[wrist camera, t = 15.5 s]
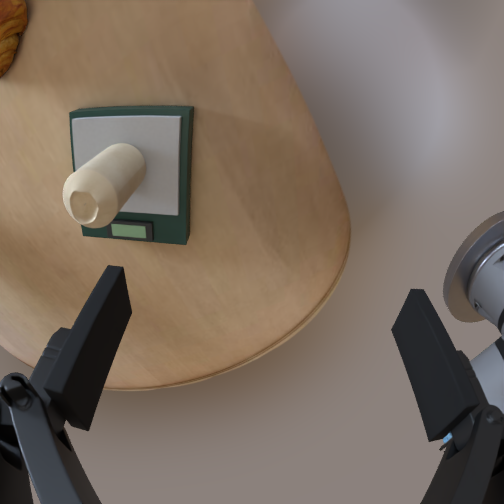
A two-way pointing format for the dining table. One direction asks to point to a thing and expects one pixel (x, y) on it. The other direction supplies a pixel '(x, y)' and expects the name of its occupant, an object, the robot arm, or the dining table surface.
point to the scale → (157, 167)
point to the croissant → (10, 30)
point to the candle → (104, 185)
